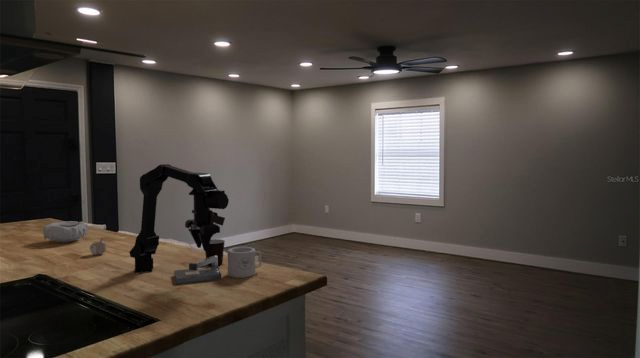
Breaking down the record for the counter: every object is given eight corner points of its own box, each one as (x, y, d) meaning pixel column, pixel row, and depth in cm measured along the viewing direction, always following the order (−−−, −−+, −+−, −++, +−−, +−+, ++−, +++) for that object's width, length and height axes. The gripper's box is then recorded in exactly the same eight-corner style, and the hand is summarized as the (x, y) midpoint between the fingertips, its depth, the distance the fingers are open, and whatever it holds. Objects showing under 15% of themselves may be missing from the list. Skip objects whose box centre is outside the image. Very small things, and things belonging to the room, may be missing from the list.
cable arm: (194, 277, 167) (194, 264, 166) (189, 276, 168) (188, 263, 167) (219, 267, 181) (219, 255, 181) (213, 266, 182) (213, 254, 182)
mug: (232, 279, 166) (231, 253, 165) (224, 272, 176) (224, 248, 175) (266, 275, 172) (265, 250, 172) (256, 268, 182) (256, 244, 181)
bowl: (76, 236, 248) (76, 218, 247) (95, 240, 236) (94, 222, 235) (36, 242, 231) (35, 223, 230) (54, 247, 219) (53, 227, 218)
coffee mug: (219, 267, 183) (219, 243, 182) (200, 266, 185) (200, 243, 184) (230, 260, 194) (230, 238, 194) (212, 259, 196) (212, 237, 195)
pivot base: (210, 271, 178) (210, 270, 178) (209, 268, 181) (209, 267, 181) (220, 270, 179) (220, 269, 179) (218, 267, 183) (218, 266, 183)
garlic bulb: (92, 257, 201) (91, 239, 200) (88, 254, 205) (88, 237, 205) (108, 254, 205) (107, 237, 204) (104, 252, 210) (103, 235, 209)
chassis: (177, 284, 160) (176, 278, 160) (174, 275, 171) (174, 270, 171) (221, 279, 167) (221, 273, 166) (216, 271, 178) (215, 265, 177)
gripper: (233, 208, 160) (233, 250, 161) (211, 203, 175) (212, 242, 176) (203, 211, 153) (204, 255, 154) (184, 205, 168) (185, 245, 169)
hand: (202, 249), depth 164 cm, fingers open, 6 cm apart
